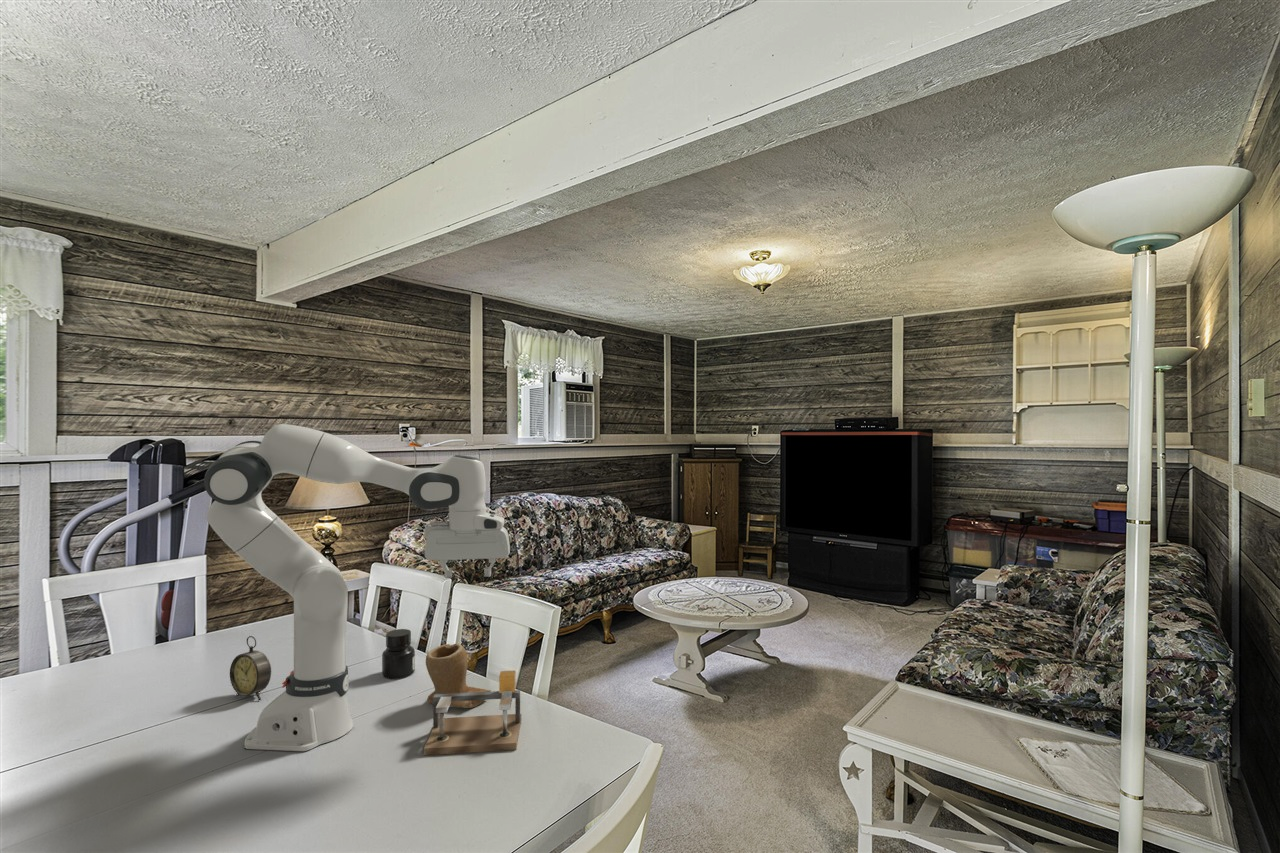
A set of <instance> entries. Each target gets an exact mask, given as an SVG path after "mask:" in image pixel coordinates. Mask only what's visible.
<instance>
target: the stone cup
mask: <svg viewBox="0 0 1280 853" xmlns="http://www.w3.org/2000/svg"><path fill="white" fill-rule="evenodd" d="M425 666H426V670H427V673H428V675H429V678H430V679H431V682H432V684H433V686H434V687H433V688H434V691H432V692H431V693H430V694H429V695H428V696H427V698H426V699H427V700H426V701H427V702H429V703H430V704H433V697H434V695H435V694H453V693H472V692H492V690H491V689H484V688H479V687H474V686H468V685H467V683H466V682H467V674H468V673H467V671H468V654H467V650H466V649H465V647H464V645H462V644H460V643H454V644H447V643H446V644H441V645H439V646H437V647H434V648H432V649H431V650H430V651H429V652H428V653H427V654H426V656H425ZM485 701H486V700H471V701H452V702H451V704H450V706H449V707H453V708H460V709H471V708H475V707H477V706H479V705H481V704H482V703H484V702H485Z"/></svg>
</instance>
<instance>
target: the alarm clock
mask: <svg viewBox="0 0 1280 853" xmlns="http://www.w3.org/2000/svg"><path fill="white" fill-rule="evenodd" d="M250 638H251V639H253V640H254V646H252V645H251V646H250V645H249V639H250ZM246 644H247V647H248V649H249V650H248V652H244V653H240V654H238V655H236V656H235V658H234V659H233V660H232V662H231V663H230V668H229V682H230V684H231V686H232V689H233V691H234V692H236V693H235V694H236V695H235V696H237V694H239V695H238V696H241V697H249V696H251V695H255V696H256V698H257V700H258V701H261V696H260V693H261V692H262V691H263V690H265V689H266V688H267V686H268V685H269V683H270V680H271V677H272V666H271V663H270V660H269V658H268V657H267V655H266V654H264V653H263V652H262V651H260V650H254V648H256V647H257V639H256V638H255V637H254V636H253V635H249V636H248V637H247V638H246ZM259 692H260V693H259Z"/></svg>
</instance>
